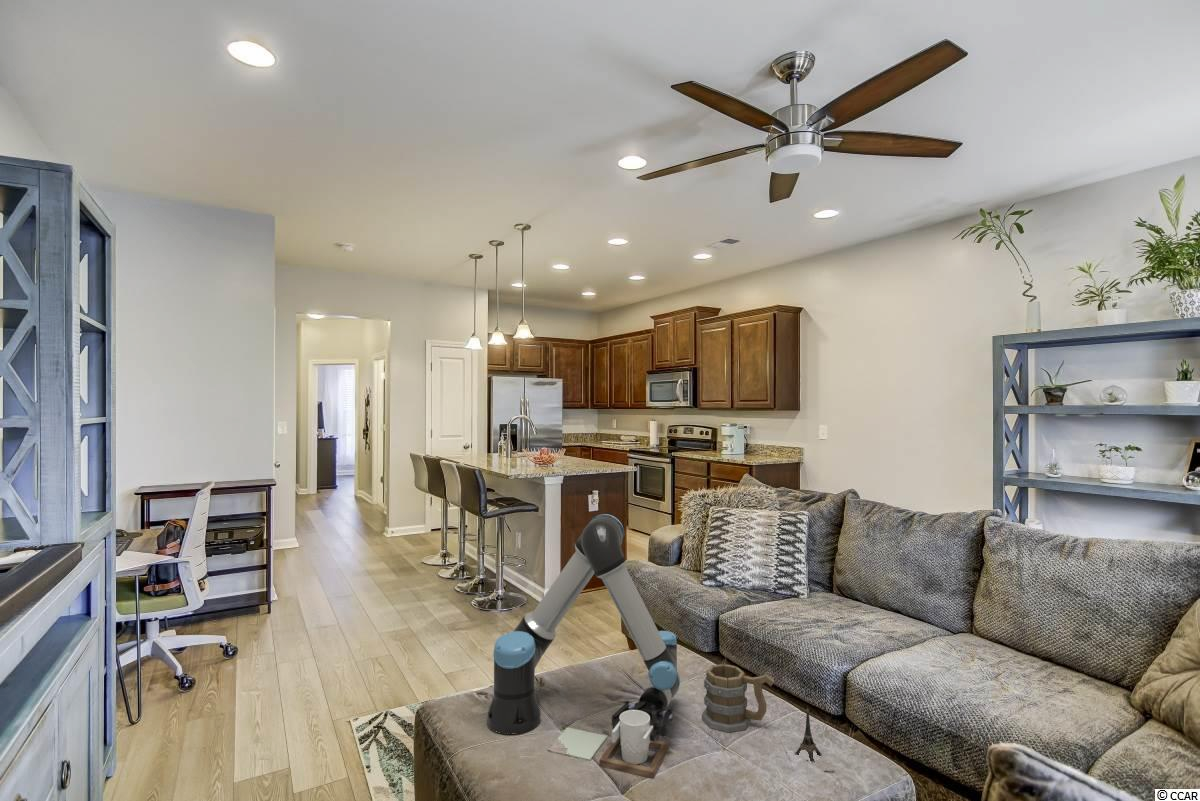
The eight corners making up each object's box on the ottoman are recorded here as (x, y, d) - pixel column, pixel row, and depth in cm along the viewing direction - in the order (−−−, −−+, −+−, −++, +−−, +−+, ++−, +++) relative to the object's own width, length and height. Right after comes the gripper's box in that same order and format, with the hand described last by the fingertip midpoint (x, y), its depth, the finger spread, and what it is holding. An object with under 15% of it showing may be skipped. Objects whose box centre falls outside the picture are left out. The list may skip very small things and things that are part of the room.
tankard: (697, 725, 165) (697, 671, 166) (711, 706, 176) (710, 655, 177) (769, 743, 156) (768, 686, 156) (778, 722, 167) (778, 668, 167)
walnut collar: (599, 765, 145) (599, 759, 145) (618, 737, 158) (618, 732, 158) (653, 778, 140) (653, 772, 140) (668, 748, 153) (668, 742, 153)
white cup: (633, 745, 155) (633, 706, 155) (656, 757, 149) (656, 717, 150) (613, 756, 149) (613, 717, 150) (635, 769, 144) (635, 728, 144)
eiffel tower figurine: (778, 740, 158) (778, 690, 159) (816, 741, 158) (816, 691, 158) (794, 773, 143) (793, 718, 144) (836, 775, 143) (835, 719, 143)
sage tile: (547, 751, 152) (547, 749, 152) (567, 728, 163) (567, 727, 163) (589, 761, 147) (589, 759, 147) (607, 737, 159) (607, 735, 159)
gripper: (690, 720, 162) (668, 765, 141) (621, 707, 170) (590, 747, 149) (690, 693, 162) (668, 733, 141) (621, 681, 170) (590, 717, 149)
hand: (628, 740), depth 145 cm, fingers closed on white cup, 7 cm apart
